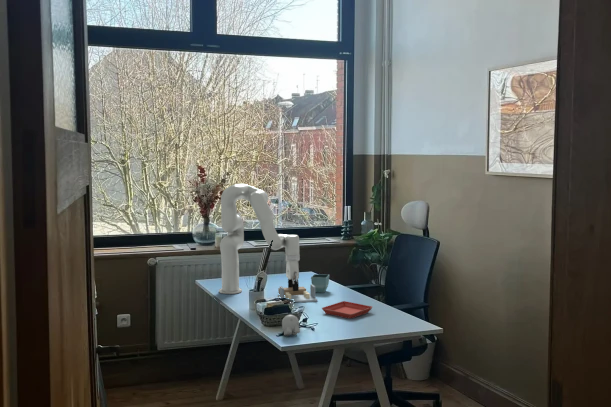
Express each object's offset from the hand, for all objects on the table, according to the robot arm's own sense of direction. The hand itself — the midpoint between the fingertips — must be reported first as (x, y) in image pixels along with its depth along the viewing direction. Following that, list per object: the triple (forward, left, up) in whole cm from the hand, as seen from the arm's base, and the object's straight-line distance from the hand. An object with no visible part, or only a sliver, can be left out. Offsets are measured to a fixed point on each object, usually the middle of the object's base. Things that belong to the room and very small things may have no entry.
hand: (293, 289), depth 346 cm
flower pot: (-4, +16, -4) cm, 17 cm away
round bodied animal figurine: (+70, -20, -4) cm, 73 cm away
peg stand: (+11, -1, -3) cm, 11 cm away
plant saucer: (+44, +15, -4) cm, 47 cm away
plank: (0, -1, -4) cm, 4 cm away
